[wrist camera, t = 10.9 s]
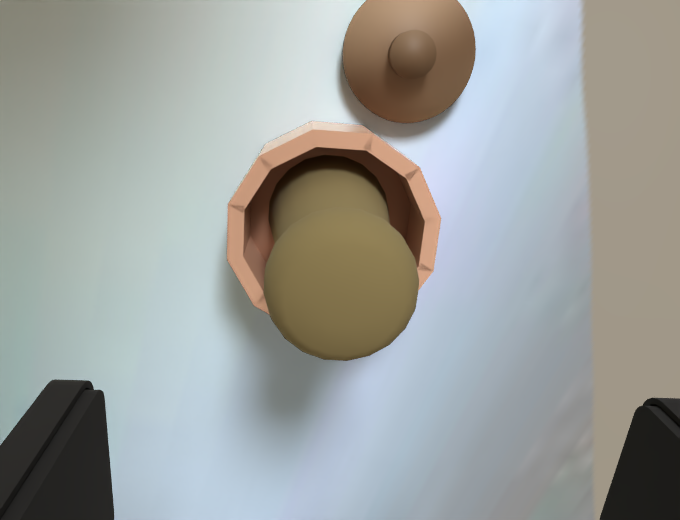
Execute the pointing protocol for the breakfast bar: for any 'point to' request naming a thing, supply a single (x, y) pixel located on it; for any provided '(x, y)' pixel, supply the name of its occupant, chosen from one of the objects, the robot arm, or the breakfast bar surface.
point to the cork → (337, 261)
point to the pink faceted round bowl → (311, 141)
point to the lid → (409, 57)
